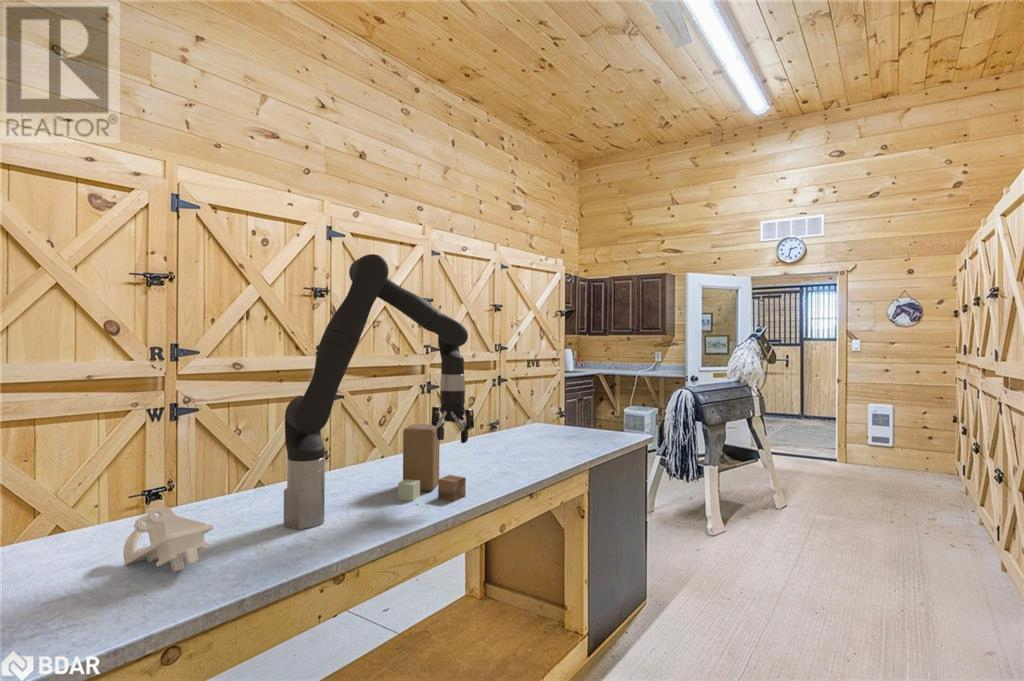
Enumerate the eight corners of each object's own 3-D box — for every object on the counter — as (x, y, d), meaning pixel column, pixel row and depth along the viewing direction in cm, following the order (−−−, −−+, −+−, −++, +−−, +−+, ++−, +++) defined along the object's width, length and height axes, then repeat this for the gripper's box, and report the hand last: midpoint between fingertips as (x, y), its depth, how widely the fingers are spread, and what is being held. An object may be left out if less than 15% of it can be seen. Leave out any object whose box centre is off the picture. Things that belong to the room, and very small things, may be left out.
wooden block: (439, 483, 180) (440, 424, 180) (432, 492, 170) (433, 429, 170) (410, 482, 181) (411, 423, 181) (401, 491, 171) (402, 428, 171)
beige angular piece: (125, 593, 112) (113, 532, 115) (182, 573, 122) (170, 517, 125) (166, 570, 102) (152, 504, 105) (225, 550, 112) (210, 490, 115)
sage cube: (413, 501, 161) (413, 484, 161) (397, 499, 162) (398, 483, 162) (420, 496, 166) (420, 480, 166) (405, 495, 167) (405, 479, 167)
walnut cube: (454, 501, 161) (454, 481, 161) (438, 498, 163) (438, 479, 163) (465, 496, 166) (465, 477, 166) (449, 493, 169) (449, 474, 169)
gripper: (426, 388, 165) (426, 441, 165) (465, 391, 158) (464, 445, 158) (441, 386, 171) (440, 437, 171) (478, 388, 164) (478, 441, 165)
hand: (452, 441), depth 165 cm, fingers open, 8 cm apart
